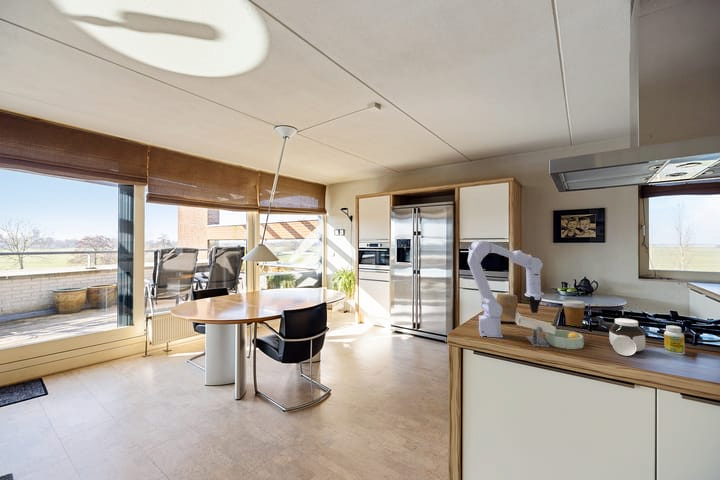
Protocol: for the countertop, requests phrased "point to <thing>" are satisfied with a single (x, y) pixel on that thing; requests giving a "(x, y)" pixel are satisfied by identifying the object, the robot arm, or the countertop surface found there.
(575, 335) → the ball
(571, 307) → the disposable coffee cup
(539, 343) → the launcher stand
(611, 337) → the spread jar
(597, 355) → the countertop surface
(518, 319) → the tipping trough
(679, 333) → the supplement bottle
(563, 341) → the green round bowl
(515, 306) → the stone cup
